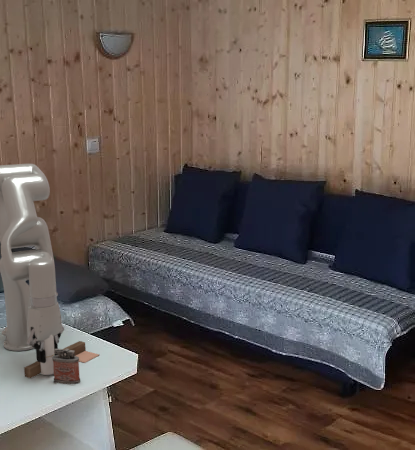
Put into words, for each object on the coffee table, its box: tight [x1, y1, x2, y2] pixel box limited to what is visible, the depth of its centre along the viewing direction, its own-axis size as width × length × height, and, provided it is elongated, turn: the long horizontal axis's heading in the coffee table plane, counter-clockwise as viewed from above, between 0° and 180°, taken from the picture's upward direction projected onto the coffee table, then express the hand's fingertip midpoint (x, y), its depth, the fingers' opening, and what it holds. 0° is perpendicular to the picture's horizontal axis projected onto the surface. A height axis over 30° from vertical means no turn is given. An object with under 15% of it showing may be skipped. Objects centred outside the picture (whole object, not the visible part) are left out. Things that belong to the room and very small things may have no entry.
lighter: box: [52, 347, 81, 385], centre depth 197 cm, size 8×3×10 cm, turn 78°
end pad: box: [76, 350, 100, 364], centre depth 215 cm, size 6×7×1 cm
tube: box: [39, 335, 55, 376], centre depth 201 cm, size 4×4×15 cm
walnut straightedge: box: [23, 340, 87, 379], centre depth 210 cm, size 2×24×3 cm, turn 148°
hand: (47, 358), depth 202 cm, fingers closed on tube, 4 cm apart
